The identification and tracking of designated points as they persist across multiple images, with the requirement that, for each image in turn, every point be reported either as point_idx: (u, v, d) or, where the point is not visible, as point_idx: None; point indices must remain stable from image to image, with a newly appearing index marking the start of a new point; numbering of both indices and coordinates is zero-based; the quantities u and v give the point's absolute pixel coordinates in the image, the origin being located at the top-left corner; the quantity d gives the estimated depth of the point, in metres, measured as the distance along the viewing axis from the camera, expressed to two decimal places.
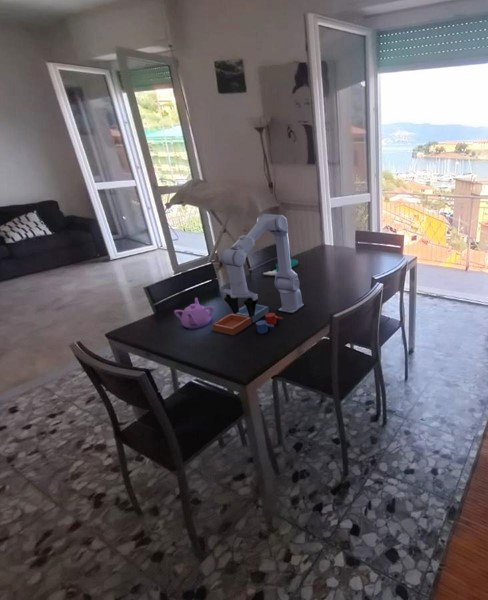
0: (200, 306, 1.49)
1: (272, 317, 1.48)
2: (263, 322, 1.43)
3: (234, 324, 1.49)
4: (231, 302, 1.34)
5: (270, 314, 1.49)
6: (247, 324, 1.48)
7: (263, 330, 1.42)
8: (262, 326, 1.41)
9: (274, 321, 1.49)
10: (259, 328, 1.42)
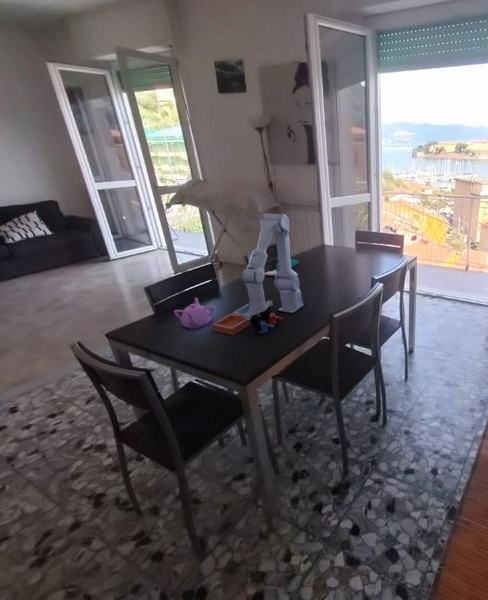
0: (200, 306, 1.49)
1: (272, 317, 1.48)
2: (263, 322, 1.43)
3: (234, 324, 1.49)
4: (260, 314, 1.44)
5: (270, 314, 1.49)
6: (247, 324, 1.48)
7: (263, 330, 1.42)
8: (262, 326, 1.41)
9: (274, 321, 1.49)
10: None
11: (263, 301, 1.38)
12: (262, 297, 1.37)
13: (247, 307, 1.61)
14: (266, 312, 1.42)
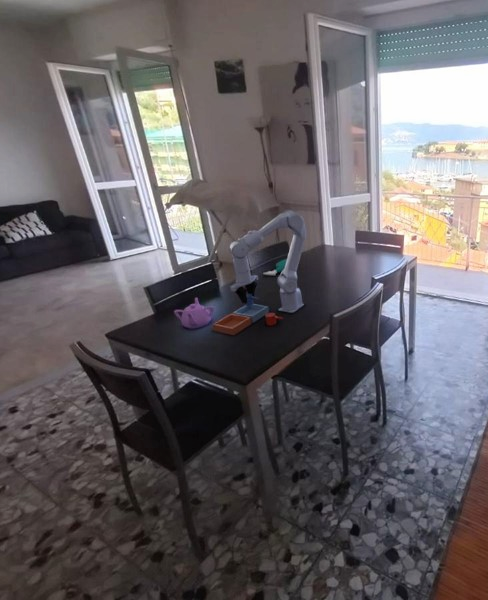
0: (200, 306, 1.49)
1: (272, 317, 1.48)
2: (249, 295, 1.50)
3: (234, 324, 1.49)
4: (246, 287, 1.52)
5: (270, 314, 1.49)
6: (247, 324, 1.48)
7: (248, 302, 1.50)
8: (248, 298, 1.49)
9: (274, 321, 1.49)
10: None
11: (248, 274, 1.46)
12: (243, 271, 1.44)
13: (247, 307, 1.61)
14: (252, 285, 1.50)
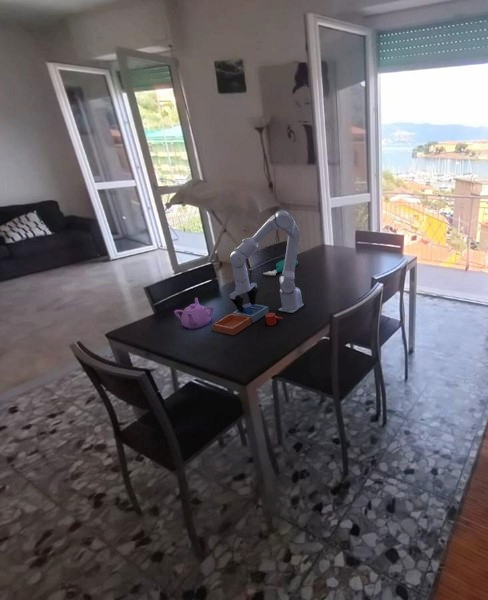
0: (200, 306, 1.49)
1: (272, 317, 1.48)
2: (248, 305, 1.56)
3: (234, 324, 1.49)
4: (248, 293, 1.58)
5: (270, 314, 1.49)
6: (247, 324, 1.48)
7: (248, 312, 1.56)
8: (247, 309, 1.55)
9: (274, 321, 1.49)
10: (244, 311, 1.55)
11: (247, 282, 1.51)
12: (240, 280, 1.49)
13: None
14: (253, 291, 1.57)
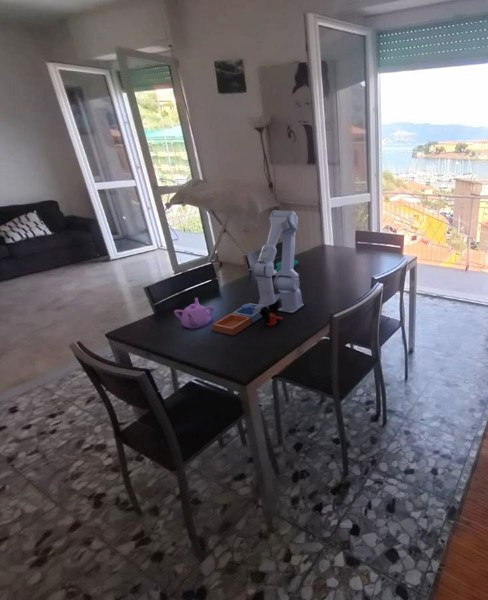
0: (200, 306, 1.49)
1: (272, 317, 1.48)
2: (248, 305, 1.56)
3: (234, 324, 1.49)
4: (269, 307, 1.50)
5: (270, 314, 1.49)
6: (247, 324, 1.48)
7: (248, 312, 1.56)
8: (247, 309, 1.55)
9: (274, 321, 1.49)
10: (244, 311, 1.55)
11: (272, 294, 1.44)
12: (271, 290, 1.43)
13: None
14: (275, 305, 1.49)
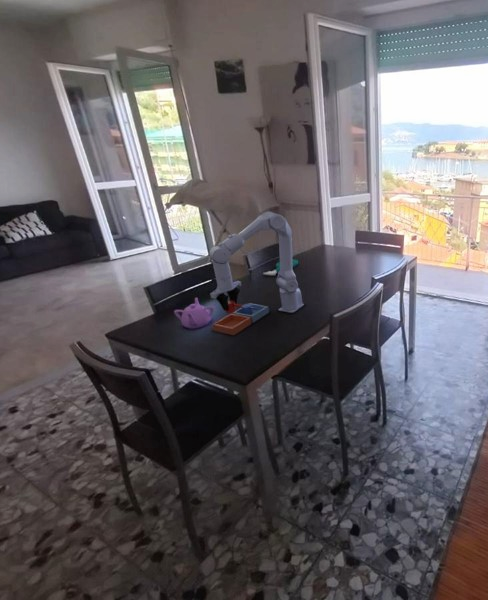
0: (200, 306, 1.49)
1: (230, 304, 1.43)
2: (248, 305, 1.56)
3: (234, 324, 1.49)
4: (229, 294, 1.45)
5: (229, 301, 1.44)
6: (247, 324, 1.48)
7: (248, 312, 1.56)
8: (247, 309, 1.55)
9: (233, 309, 1.44)
10: (244, 311, 1.55)
11: (230, 280, 1.39)
12: (225, 277, 1.37)
13: None
14: (234, 292, 1.44)
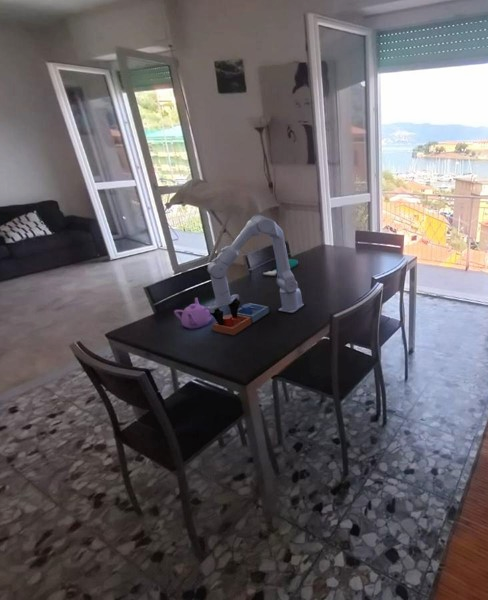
0: (200, 306, 1.49)
1: (228, 319, 1.45)
2: (248, 305, 1.56)
3: (234, 324, 1.49)
4: (229, 306, 1.49)
5: (227, 316, 1.47)
6: (247, 324, 1.48)
7: (248, 312, 1.56)
8: (247, 309, 1.55)
9: (231, 323, 1.47)
10: (244, 311, 1.55)
11: (228, 294, 1.42)
12: (222, 292, 1.40)
13: None
14: (234, 304, 1.47)
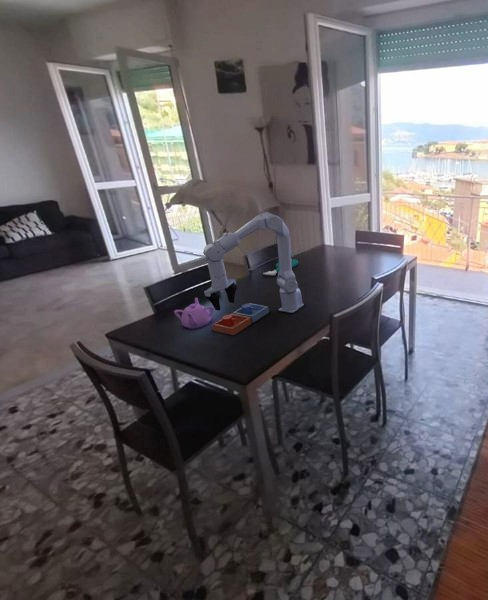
0: (200, 306, 1.49)
1: (228, 319, 1.45)
2: (248, 305, 1.56)
3: (234, 324, 1.49)
4: (226, 290, 1.46)
5: (227, 316, 1.47)
6: (247, 324, 1.48)
7: (248, 312, 1.56)
8: (247, 309, 1.55)
9: (231, 323, 1.47)
10: (244, 311, 1.55)
11: (224, 278, 1.39)
12: (219, 275, 1.37)
13: None
14: (231, 288, 1.45)
